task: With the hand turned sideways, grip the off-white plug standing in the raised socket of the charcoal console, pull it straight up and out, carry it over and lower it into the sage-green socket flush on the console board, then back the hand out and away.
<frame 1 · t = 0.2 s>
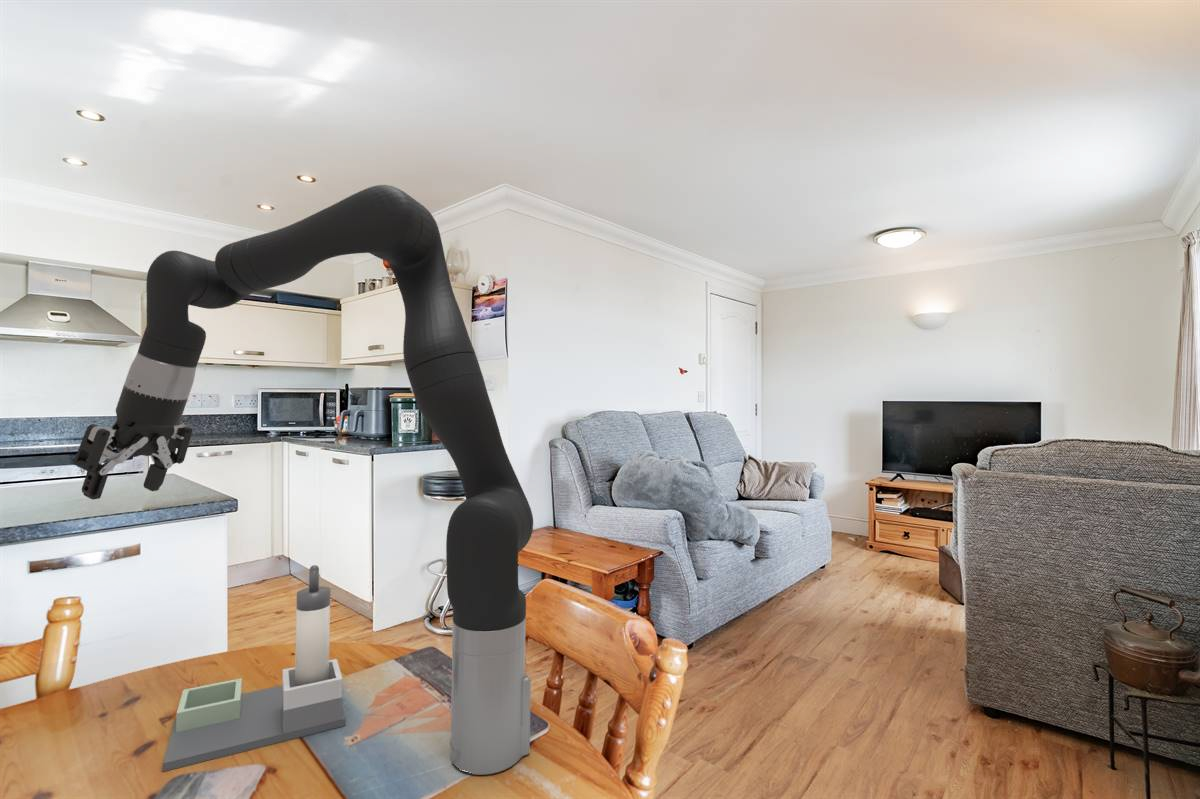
hand: (122, 493, 82), 31 cm above the table, tool tilted 20°, fingers open, 8 cm apart
plug: (311, 692, 78), point 4 cm above the table, touching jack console
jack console: (260, 719, 79), on the table
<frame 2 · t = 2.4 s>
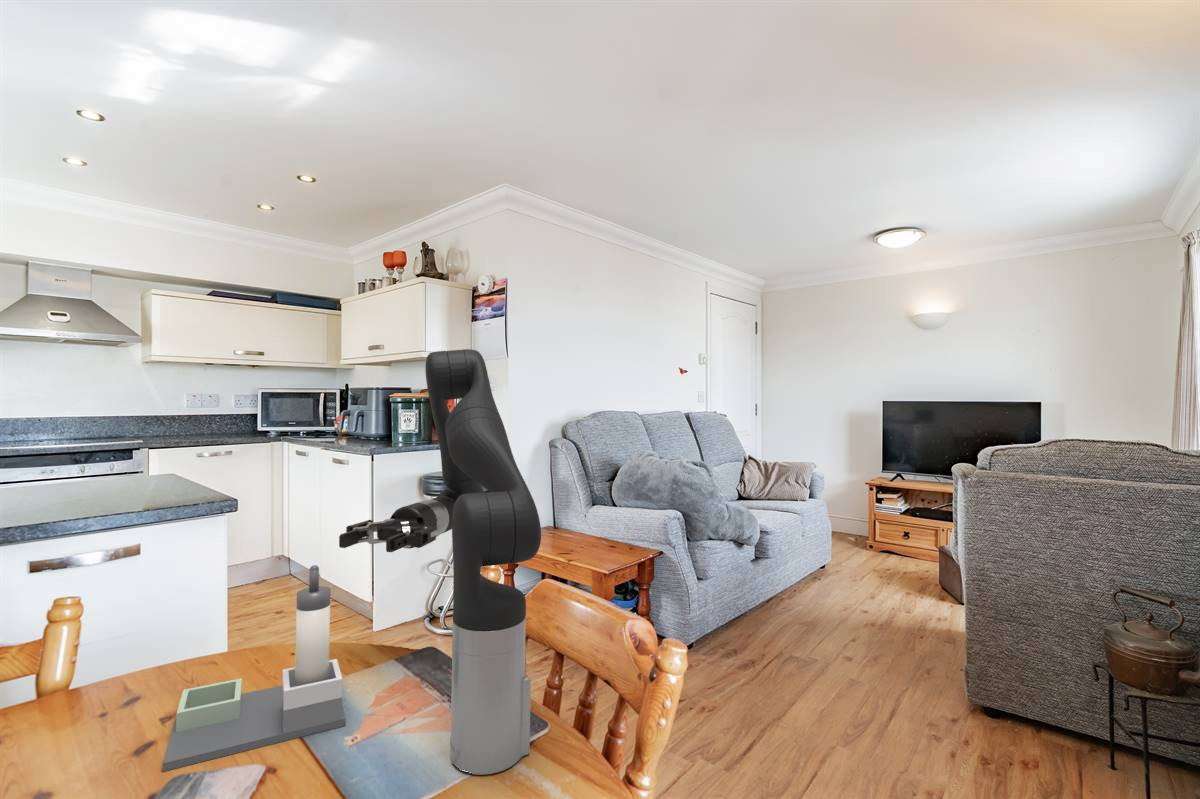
hand: (364, 543, 89), 22 cm above the table, tool horizontal, fingers open, 8 cm apart
nothing on the table moved.
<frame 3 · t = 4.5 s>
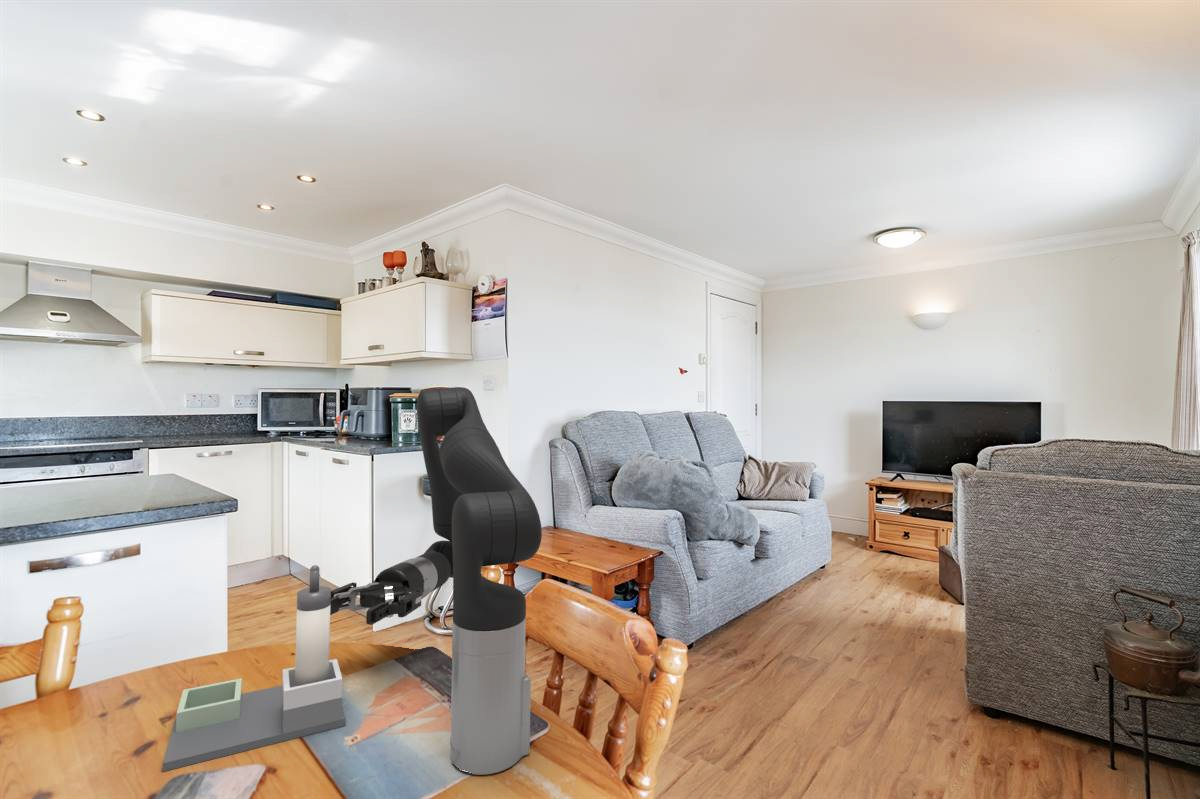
hand: (344, 615, 85), 12 cm above the table, tool horizontal, fingers open, 8 cm apart
nothing on the table moved.
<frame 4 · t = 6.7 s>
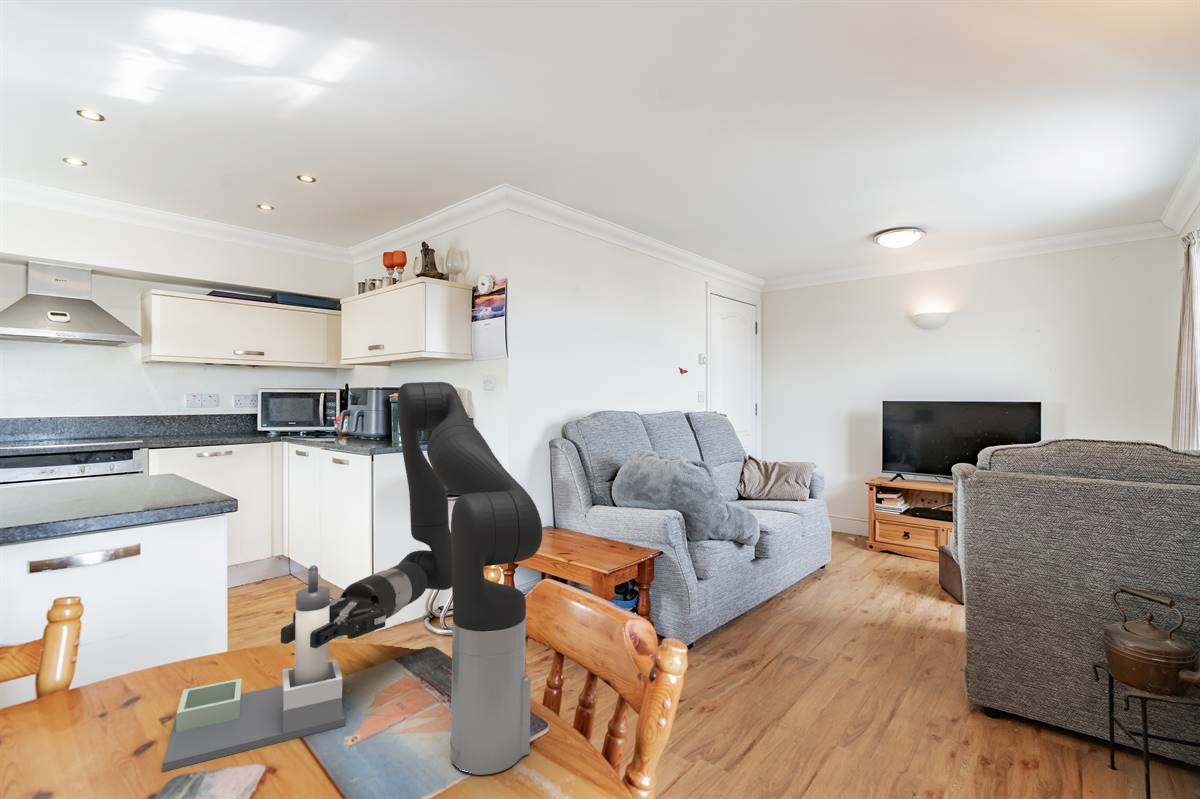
hand: (298, 638, 76), 13 cm above the table, tool horizontal, fingers closed on plug, 4 cm apart
plug: (311, 692, 78), point 4 cm above the table, touching gripper, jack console
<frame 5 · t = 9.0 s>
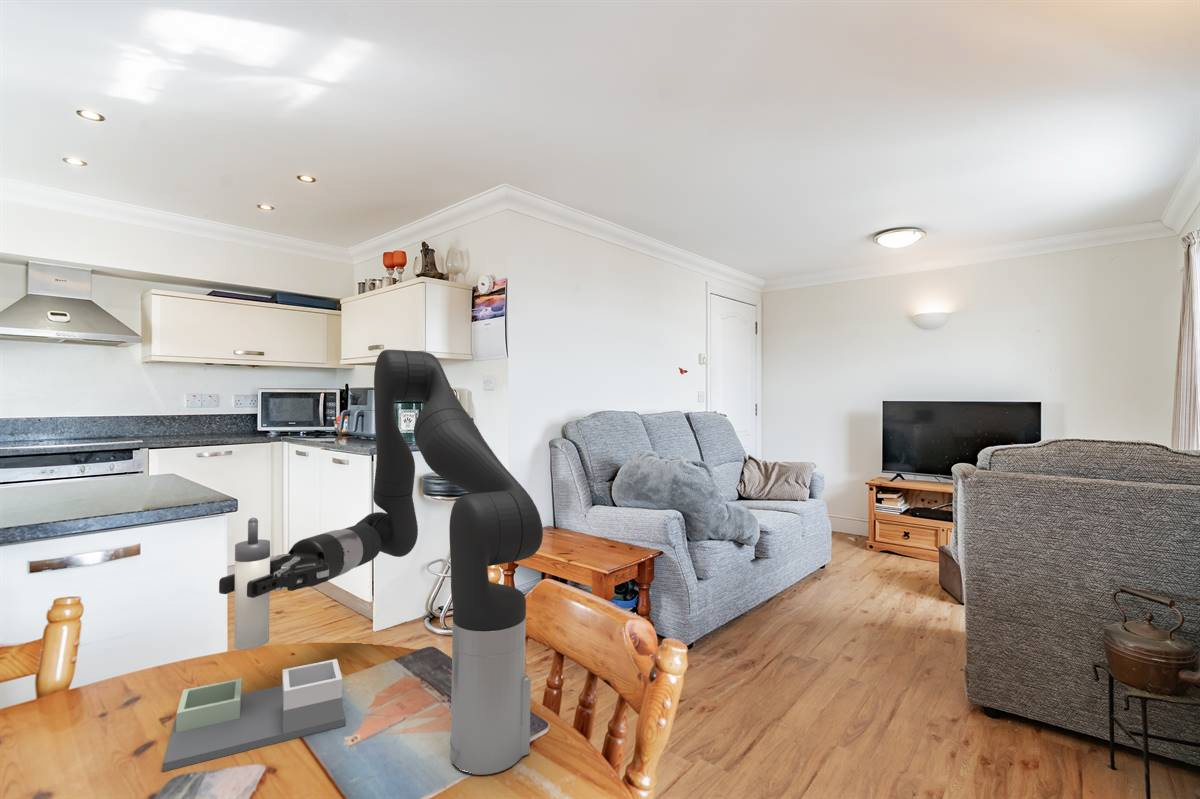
hand: (235, 588, 77), 19 cm above the table, tool horizontal, fingers closed on plug, 4 cm apart
plug: (251, 643, 79), point 10 cm above the table, touching gripper
when the fingers open (11 cm above the table, at t = 11.7 s): plug drops 1 cm, resting on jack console.
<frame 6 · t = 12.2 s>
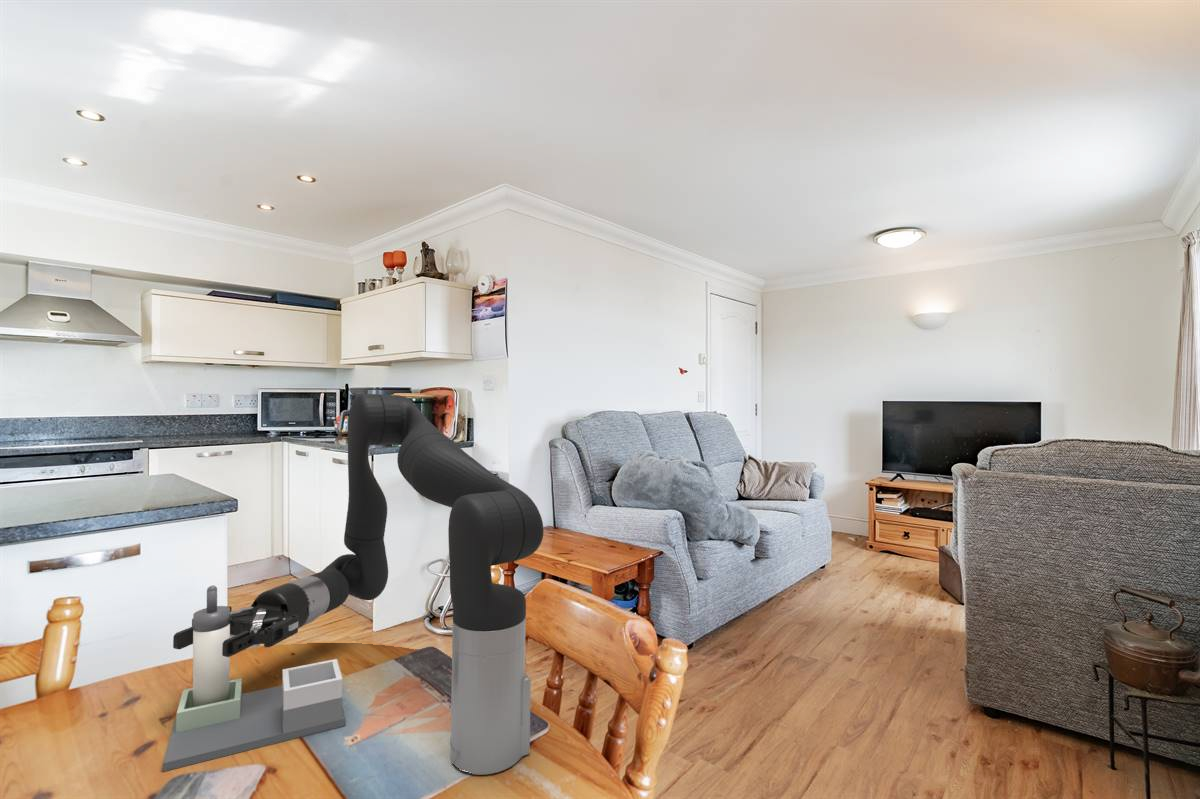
hand: (199, 646, 77), 11 cm above the table, tool horizontal, fingers open, 8 cm apart
plug: (211, 712, 78), point 1 cm above the table, touching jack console
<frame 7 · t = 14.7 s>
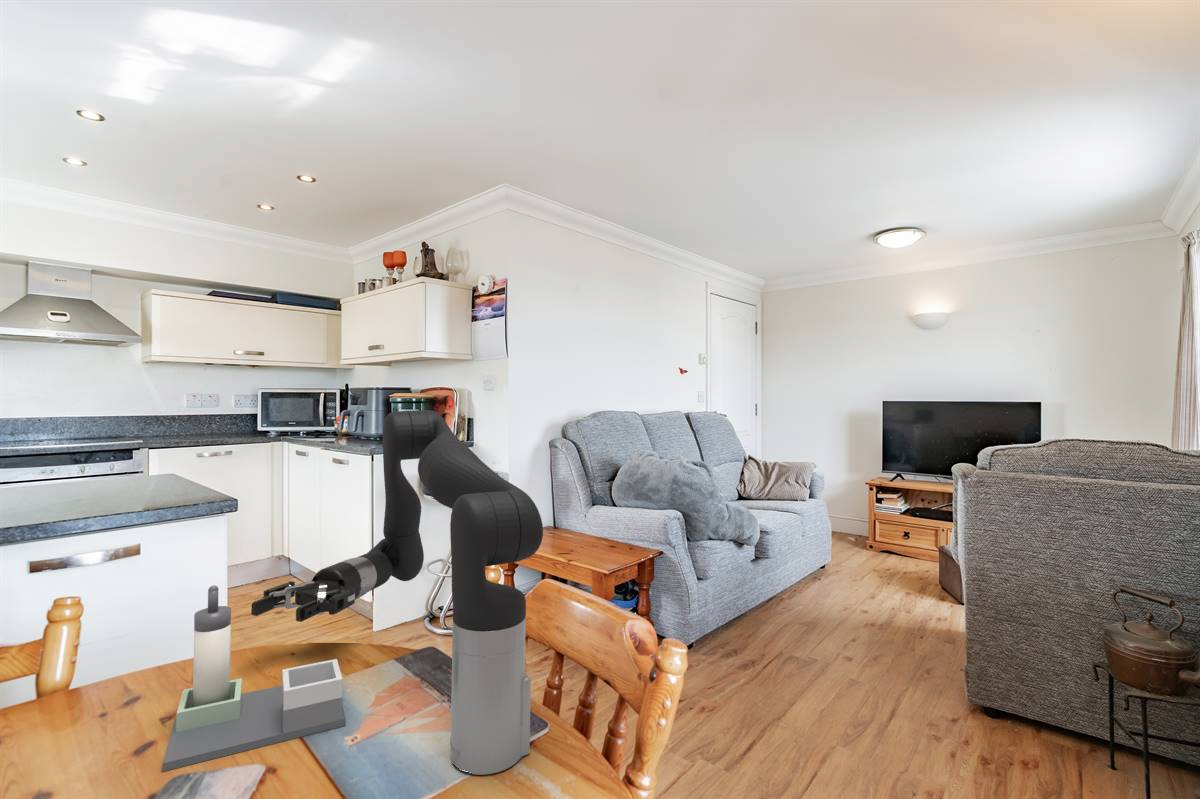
hand: (275, 612, 89), 11 cm above the table, tool horizontal, fingers open, 8 cm apart
nothing on the table moved.
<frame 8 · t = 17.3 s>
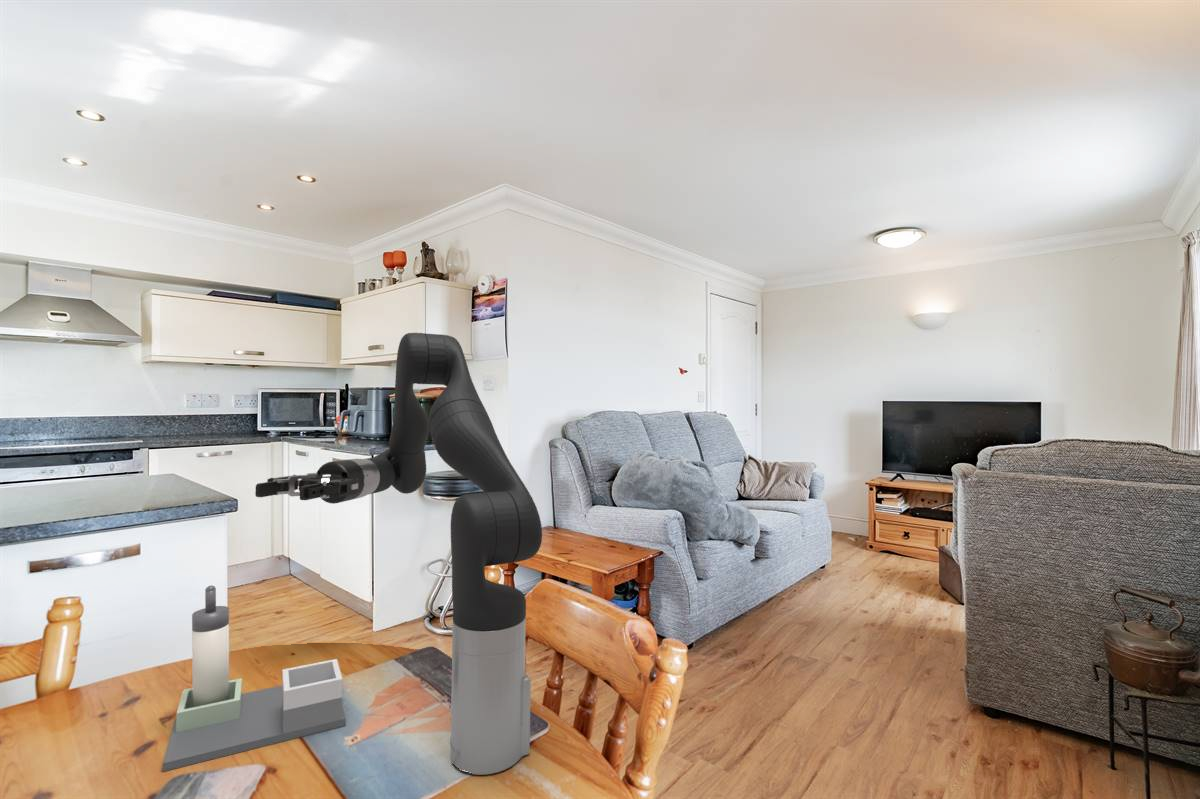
hand: (279, 492, 89), 30 cm above the table, tool horizontal, fingers open, 8 cm apart
nothing on the table moved.
at the end: plug 0.1 cm from the target spot, point 1.1 cm above the table; plug tilted 2°; the gripper is holding nothing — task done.
